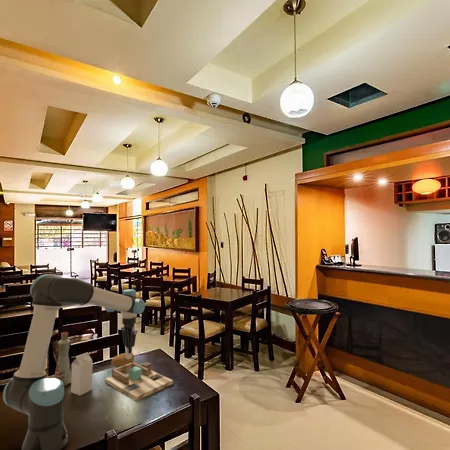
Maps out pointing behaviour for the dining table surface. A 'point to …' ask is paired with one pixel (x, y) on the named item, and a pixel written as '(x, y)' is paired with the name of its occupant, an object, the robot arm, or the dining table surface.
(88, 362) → the milk carton
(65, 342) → the bottle
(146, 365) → the walnut cube
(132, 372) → the teal block
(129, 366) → the cubby board
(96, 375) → the dining table surface
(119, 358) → the potato
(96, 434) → the dining table surface
